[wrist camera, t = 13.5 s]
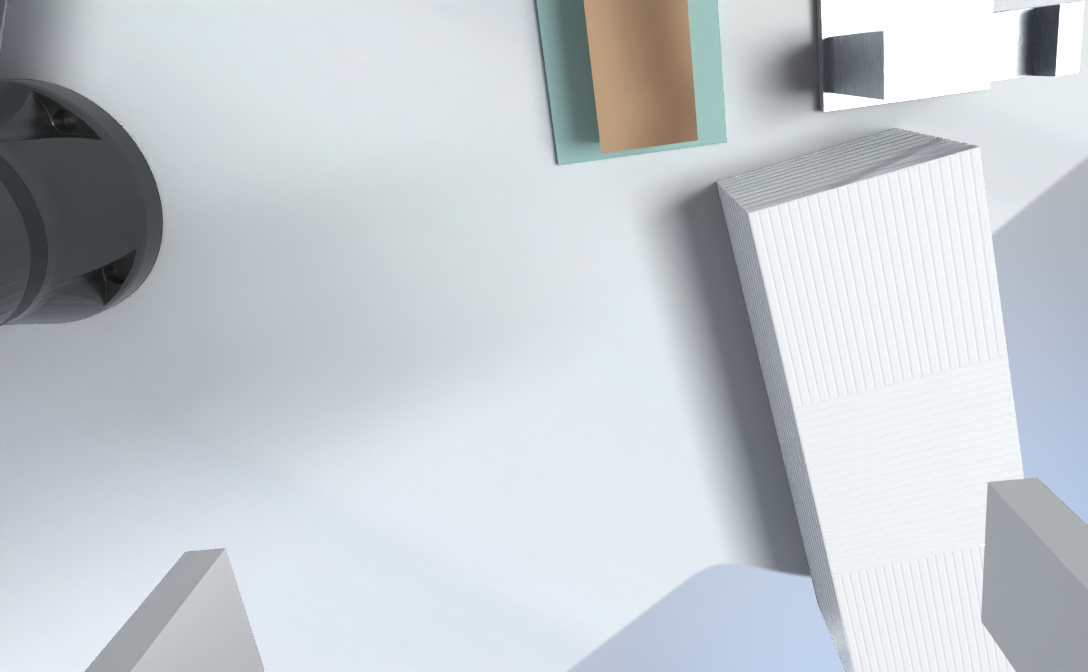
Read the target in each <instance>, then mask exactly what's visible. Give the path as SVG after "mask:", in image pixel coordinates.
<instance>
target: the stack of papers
mask: <svg viewBox="0 0 1088 672" xmlns="http://www.w3.org/2000/svg"><path fill="white" fill-rule="evenodd" d="M717 187H718V191H719V195H720V199H721V203H722V207H723V211H724V216H725V220H726V224H727V228H728V232H729V236H730V241H731V245H732V249H733V253H734V257H735V261H736V265H737V270H738V274H739V278H740V282H741V286H742V290H743V294H744V299H745V303H746V307H747V311H748V315H749V319H750V324H751V328H752V332H753V336H754V340H755V344H756V348H757V353H758V357H759V361H760V365H761V369H762V373H763V378H764V382H765V386H766V390H767V394H768V398H769V402H770V407H771V411H772V415H773V419H774V423H775V427H776V431H777V436H778V440H779V444H780V448H781V452H782V456H783V461H784V465H785V469H786V473H787V477H788V481H789V485H790V490H791V494H792V498H793V502H794V506H795V510H796V515H797V519H798V523H799V527H800V531H801V535H802V539H803V544H804V548H805V552H806V556H807V560H808V564H809V568H810V573H811V578H812V582H813V586H814V590H815V594H816V599H817V603H818V606H819V608H820V610H821V612H822V615H823V618H824V620H825V623H826V625H827V628H828V630H829V633H830V635H831V638H832V640H833V642H834V645H835V647H836V649H837V652H838V655H839V657H840V659H841V662H842V665H843V667H844V670H845V671H846V672H1016V671H1015V670H1014V668H1013V667H1012V665H1011V664H1010V663H1009V661H1008V660H1007V658H1006V657H1005V655H1004V654H1003V652H1002V651H1001V649H1000V648H999V647H998V645H997V644H996V642H995V641H994V639H993V638H992V636H991V635H990V633H989V632H988V630H987V629H986V628H985V626H984V625H983V623H982V622H981V610H982V589H983V568H984V547H985V526H986V505H987V484H988V482H992V481H1004V480H1015V479H1024V475H1023V467H1022V460H1021V453H1020V445H1019V437H1018V430H1017V422H1016V415H1015V408H1014V400H1013V393H1012V386H1011V378H1010V371H1009V363H1008V356H1007V348H1006V341H1005V333H1004V326H1003V318H1002V311H1001V303H1000V296H999V288H998V281H997V274H996V266H995V259H994V251H993V245H992V236H991V229H990V221H989V214H988V206H987V199H986V192H985V184H984V177H983V169H982V162H981V154H980V147H979V146H975V145H969V144H966V143H960V142H957V141H951V140H948V139H943V138H939V137H936V138H935V136H930V135H929V136H928V135H925V134H920V133H916V132H912V131H907V130H903V129H902V130H901V129H898V128H895V129H892V130H888V131H885V132H882V133H878V134H875V135H872V136H868V137H865V138H861V139H858V140H855V141H851V142H848V143H845V144H841V145H838V146H834V147H831V148H828V149H824V150H821V151H818V152H814V153H811V154H808V155H804V156H801V157H797V158H794V159H791V160H787V161H784V162H781V163H777V164H774V165H771V166H767V167H764V168H760V169H757V170H754V171H750V172H747V173H744V174H740V175H737V176H733V177H730V178H727V179H723V180H720V181H717Z"/></svg>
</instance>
